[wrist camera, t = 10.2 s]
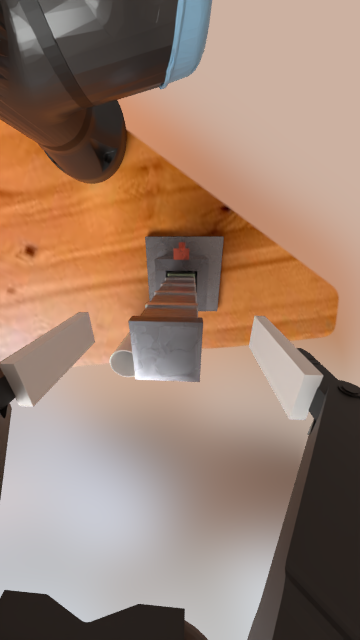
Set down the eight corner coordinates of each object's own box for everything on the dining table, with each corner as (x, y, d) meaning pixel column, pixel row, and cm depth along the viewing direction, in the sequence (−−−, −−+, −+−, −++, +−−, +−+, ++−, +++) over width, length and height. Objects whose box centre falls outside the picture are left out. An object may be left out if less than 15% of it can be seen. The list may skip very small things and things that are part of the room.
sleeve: (146, 236, 38) (127, 234, 27) (222, 236, 37) (236, 233, 26) (151, 307, 45) (137, 329, 33) (216, 309, 44) (225, 332, 32)
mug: (124, 340, 49) (105, 368, 38) (133, 320, 46) (115, 344, 35) (157, 356, 50) (148, 387, 39) (168, 337, 48) (161, 366, 37)
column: (168, 270, 31) (128, 320, 11) (195, 271, 31) (203, 322, 11) (169, 296, 33) (135, 379, 13) (194, 296, 33) (199, 381, 13)
